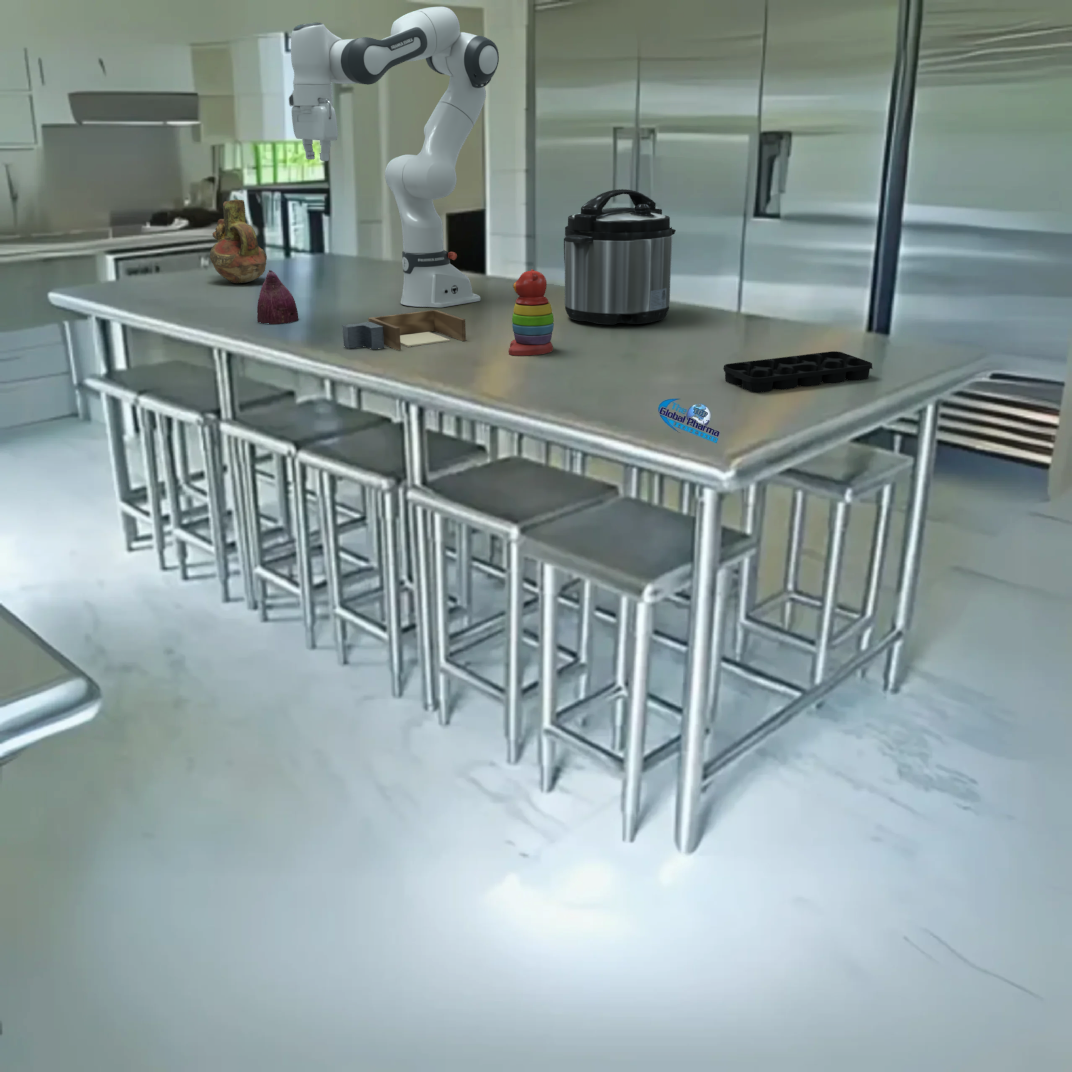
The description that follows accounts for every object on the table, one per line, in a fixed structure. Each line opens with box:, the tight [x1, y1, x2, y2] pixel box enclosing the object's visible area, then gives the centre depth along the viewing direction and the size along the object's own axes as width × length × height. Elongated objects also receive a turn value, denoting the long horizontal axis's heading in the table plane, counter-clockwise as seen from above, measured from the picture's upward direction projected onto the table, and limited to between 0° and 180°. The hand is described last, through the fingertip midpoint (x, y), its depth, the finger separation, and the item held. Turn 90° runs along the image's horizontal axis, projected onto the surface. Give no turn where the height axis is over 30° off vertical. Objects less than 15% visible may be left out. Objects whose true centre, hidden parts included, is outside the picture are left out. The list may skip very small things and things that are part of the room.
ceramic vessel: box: [209, 199, 268, 284], centre depth 333 cm, size 17×26×25 cm, turn 43°
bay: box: [367, 309, 467, 351], centre depth 254 cm, size 18×15×5 cm
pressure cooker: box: [563, 188, 676, 325], centre depth 271 cm, size 30×28×32 cm
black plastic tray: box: [723, 350, 874, 394], centre depth 215 cm, size 18×30×4 cm, turn 125°
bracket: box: [341, 321, 385, 350], centre depth 247 cm, size 7×7×5 cm
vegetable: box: [256, 269, 299, 325], centre depth 275 cm, size 10×10×15 cm
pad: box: [400, 332, 451, 348], centre depth 254 cm, size 11×11×1 cm
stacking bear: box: [508, 269, 555, 357], centre depth 239 cm, size 11×10×18 cm
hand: (317, 160), depth 259 cm, fingers open, 8 cm apart
